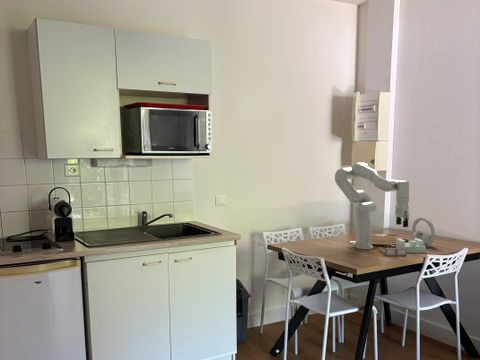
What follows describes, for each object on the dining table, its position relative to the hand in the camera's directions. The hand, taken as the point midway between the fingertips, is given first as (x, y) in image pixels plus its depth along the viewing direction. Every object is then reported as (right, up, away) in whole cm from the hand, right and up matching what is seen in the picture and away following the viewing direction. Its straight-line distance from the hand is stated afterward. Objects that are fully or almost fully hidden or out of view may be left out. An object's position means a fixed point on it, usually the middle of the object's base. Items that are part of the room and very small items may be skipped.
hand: (402, 225), depth 251 cm
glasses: (-5, -18, +3) cm, 19 cm away
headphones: (+25, -17, +25) cm, 40 cm away
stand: (+10, -18, +10) cm, 23 cm away
